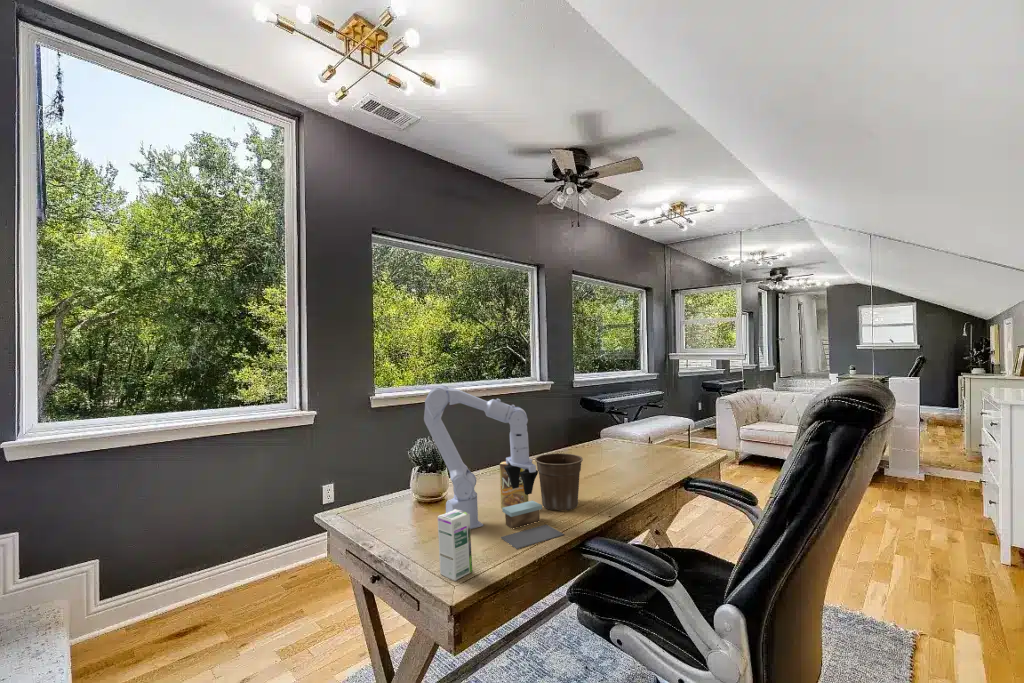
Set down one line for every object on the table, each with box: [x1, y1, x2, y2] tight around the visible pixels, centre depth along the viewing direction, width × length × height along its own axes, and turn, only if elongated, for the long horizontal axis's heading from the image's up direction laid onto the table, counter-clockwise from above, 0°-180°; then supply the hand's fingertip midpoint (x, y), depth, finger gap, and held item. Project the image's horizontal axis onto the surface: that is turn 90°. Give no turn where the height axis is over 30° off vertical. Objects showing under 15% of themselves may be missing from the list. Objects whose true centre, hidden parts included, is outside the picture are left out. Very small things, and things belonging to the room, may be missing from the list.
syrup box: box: [437, 509, 473, 582], centre depth 112 cm, size 6×6×14 cm
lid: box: [501, 500, 543, 517], centre depth 141 cm, size 11×5×1 cm, turn 121°
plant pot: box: [535, 452, 584, 512], centre depth 156 cm, size 16×16×16 cm
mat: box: [500, 524, 565, 550], centre depth 131 cm, size 16×9×1 cm, turn 121°
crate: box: [504, 510, 541, 530], centre depth 141 cm, size 10×4×4 cm, turn 121°
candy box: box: [499, 460, 529, 509], centre depth 155 cm, size 9×4×15 cm, turn 68°
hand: (521, 490), depth 142 cm, fingers open, 7 cm apart
